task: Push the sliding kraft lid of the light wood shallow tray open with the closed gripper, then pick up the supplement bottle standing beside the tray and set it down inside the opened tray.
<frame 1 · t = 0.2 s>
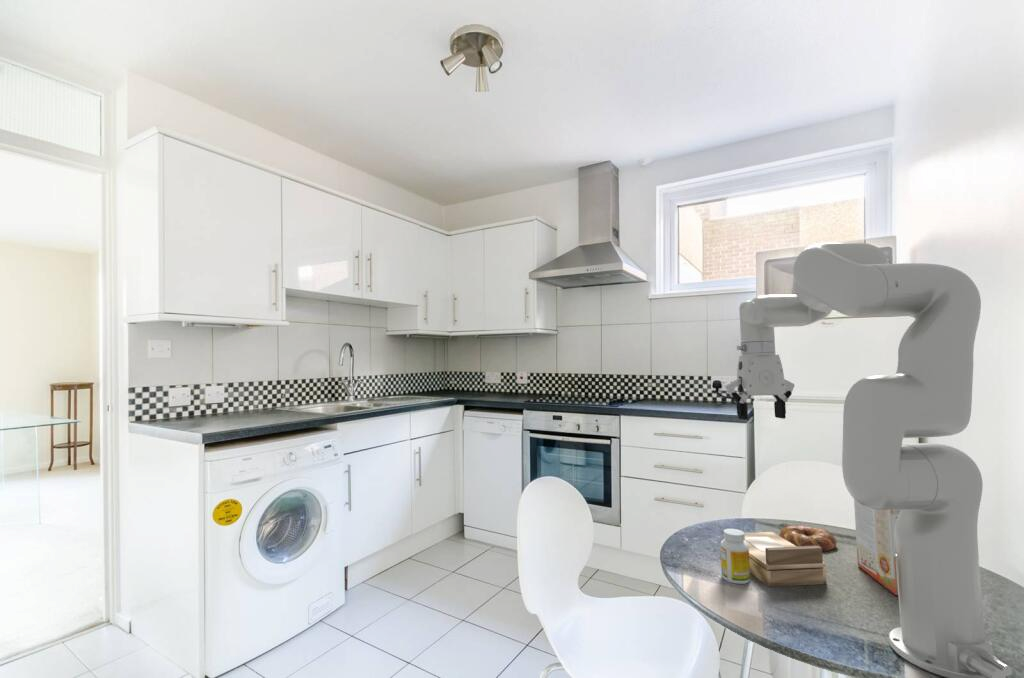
hand: (761, 418, 117), 31 cm above the table, tool pointing down, fingers open, 9 cm apart
lid: (769, 542, 104), point 5 cm above the table, slide at 0.0 cm
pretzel: (807, 545, 116), on the table
light wood shallow tray: (770, 566, 104), on the table
cracker box: (891, 582, 95), on the table
supplement bottle: (735, 579, 98), on the table
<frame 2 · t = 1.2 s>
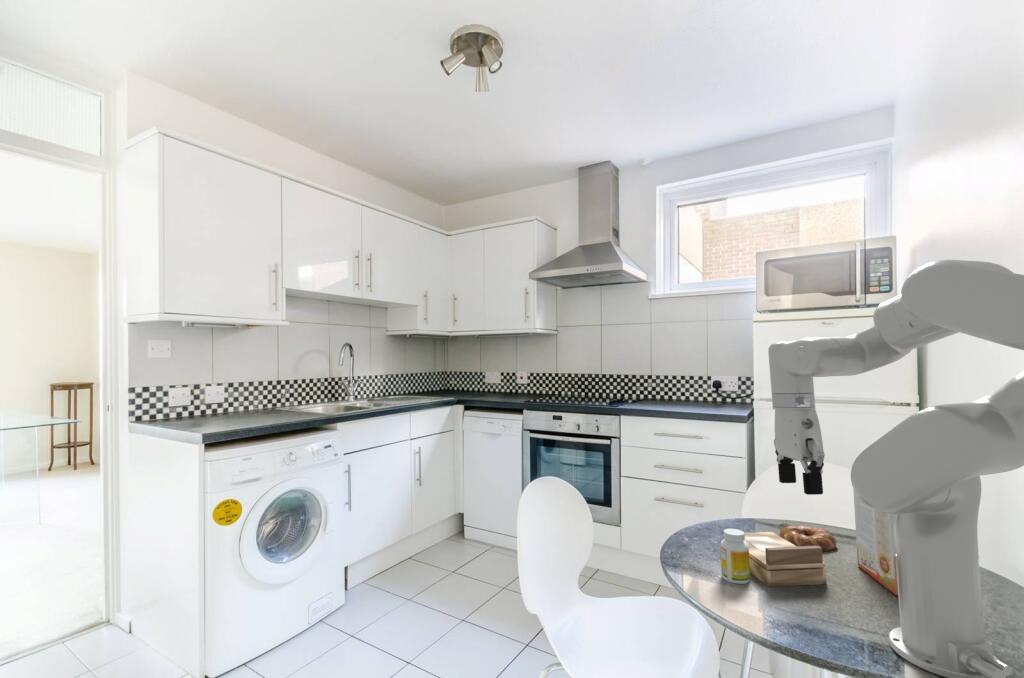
hand: (800, 488, 95), 19 cm above the table, tool pointing down, fingers open, 9 cm apart
nothing on the table moved.
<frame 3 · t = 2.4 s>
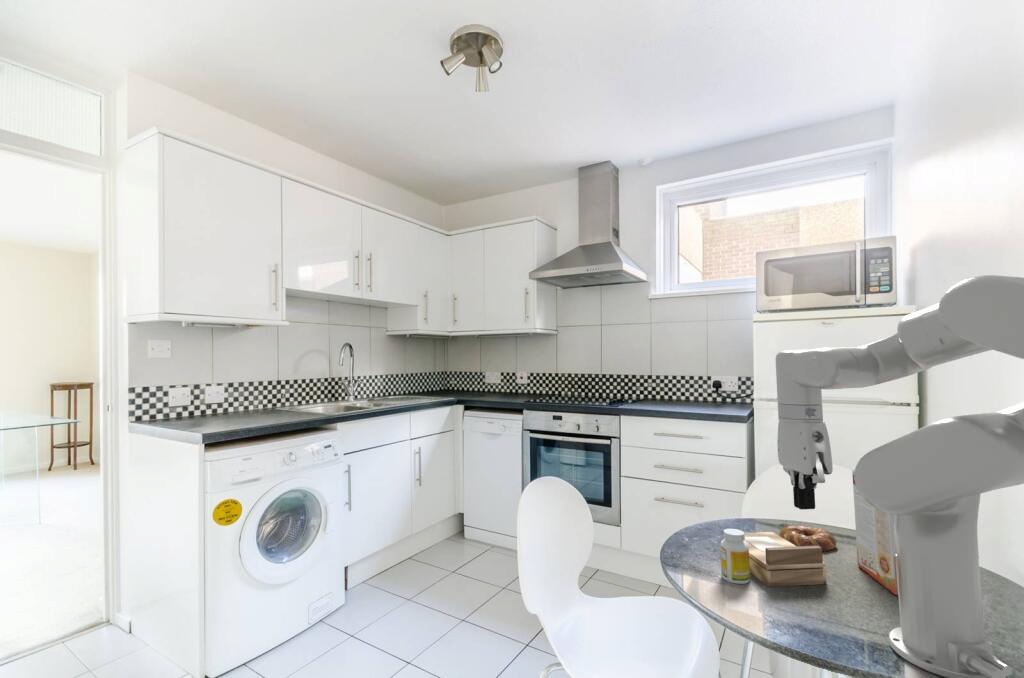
hand: (804, 507, 92), 16 cm above the table, tool pointing down, fingers closed
nothing on the table moved.
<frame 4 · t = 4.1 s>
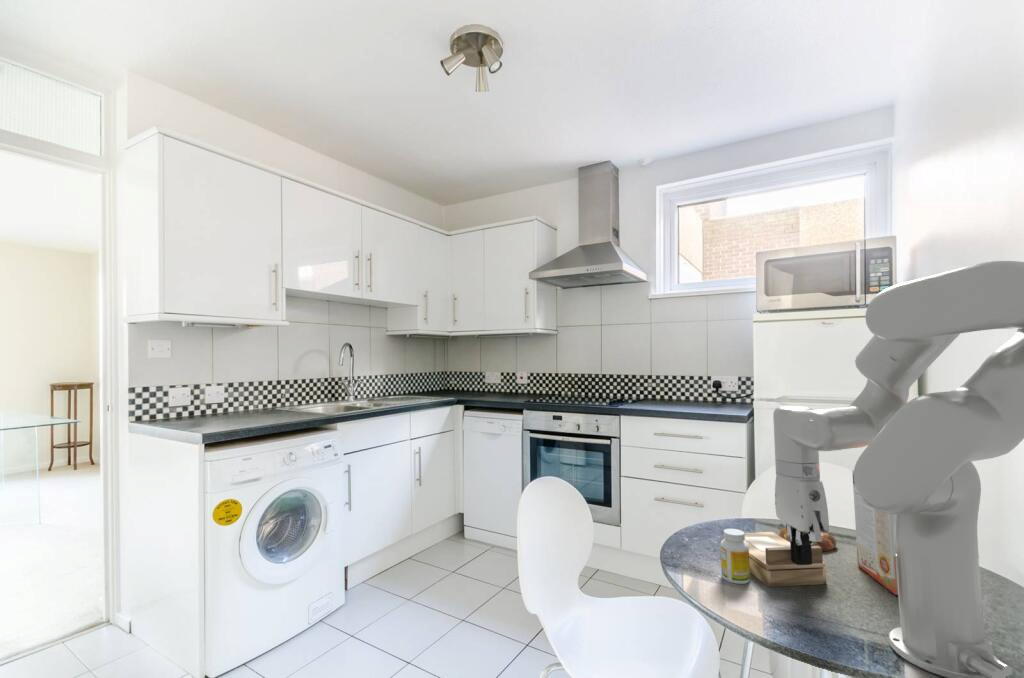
hand: (801, 563, 93), 5 cm above the table, tool pointing down, fingers closed
lid: (769, 542, 104), point 5 cm above the table, slide at 0.0 cm, touching gripper
everything else where it was.
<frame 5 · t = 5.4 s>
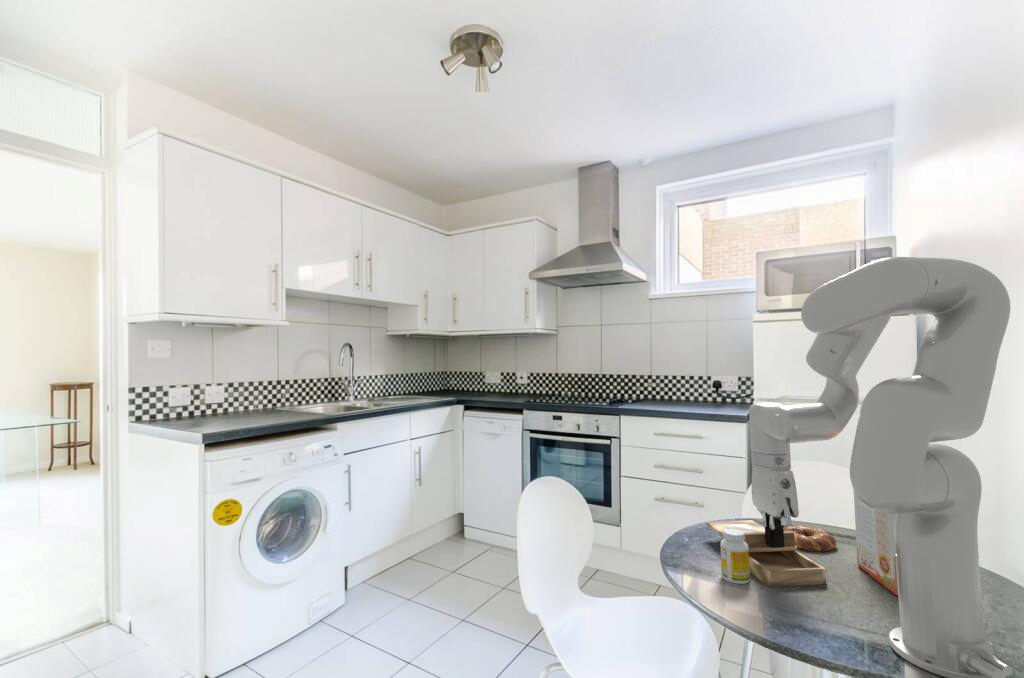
hand: (775, 546, 102), 5 cm above the table, tool pointing down, fingers closed
lid: (747, 528, 113), point 5 cm above the table, slide at 8.8 cm, touching gripper
everything else where it was.
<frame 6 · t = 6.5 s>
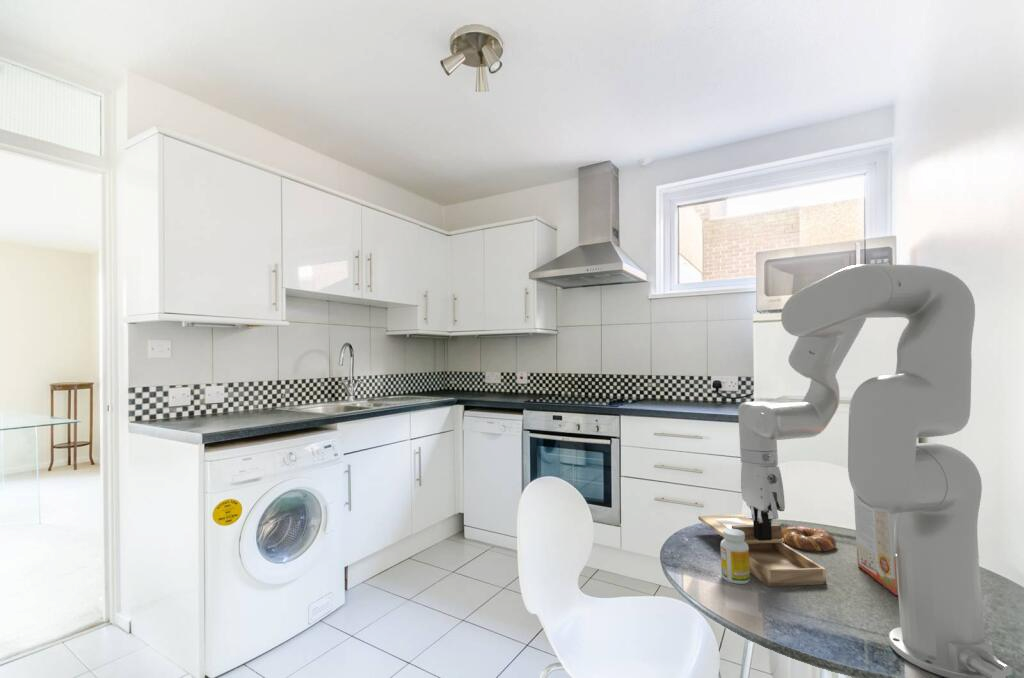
hand: (763, 539, 106), 5 cm above the table, tool pointing down, fingers closed
lid: (737, 522, 117), point 5 cm above the table, slide at 13.5 cm
everything else where it was.
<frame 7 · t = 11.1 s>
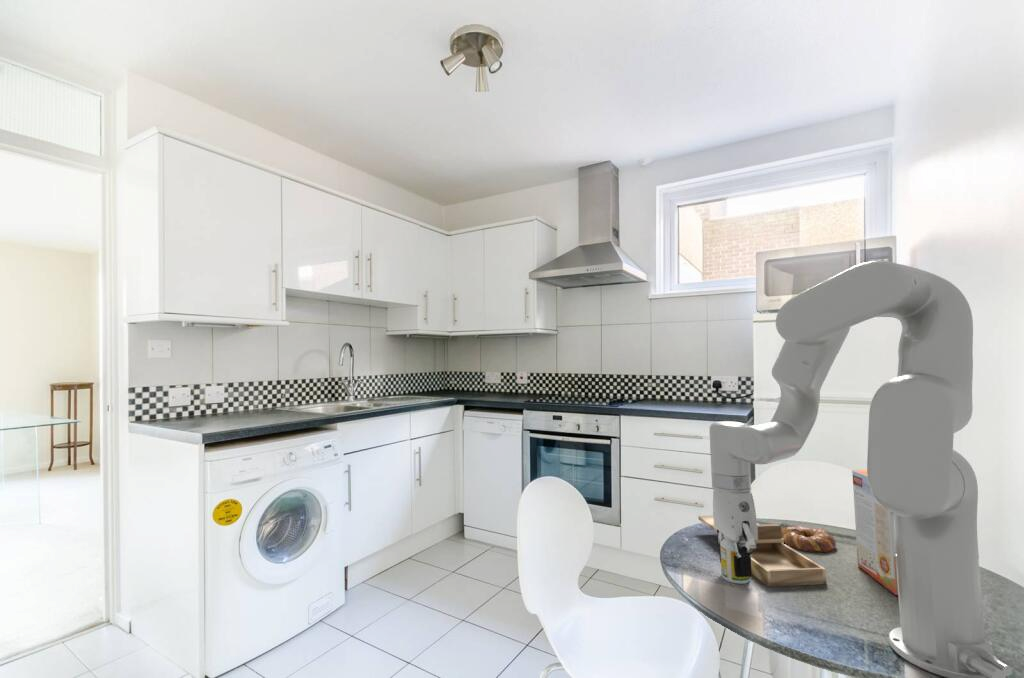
hand: (735, 568, 98), 2 cm above the table, tool pointing down, fingers closed on supplement bottle, 5 cm apart
supplement bottle: (735, 579, 98), on the table, touching gripper
everything else where it was.
when the fingers open (4 cm above the table, at t = 16.1 s): supplement bottle drops 1 cm, resting on light wood shallow tray.
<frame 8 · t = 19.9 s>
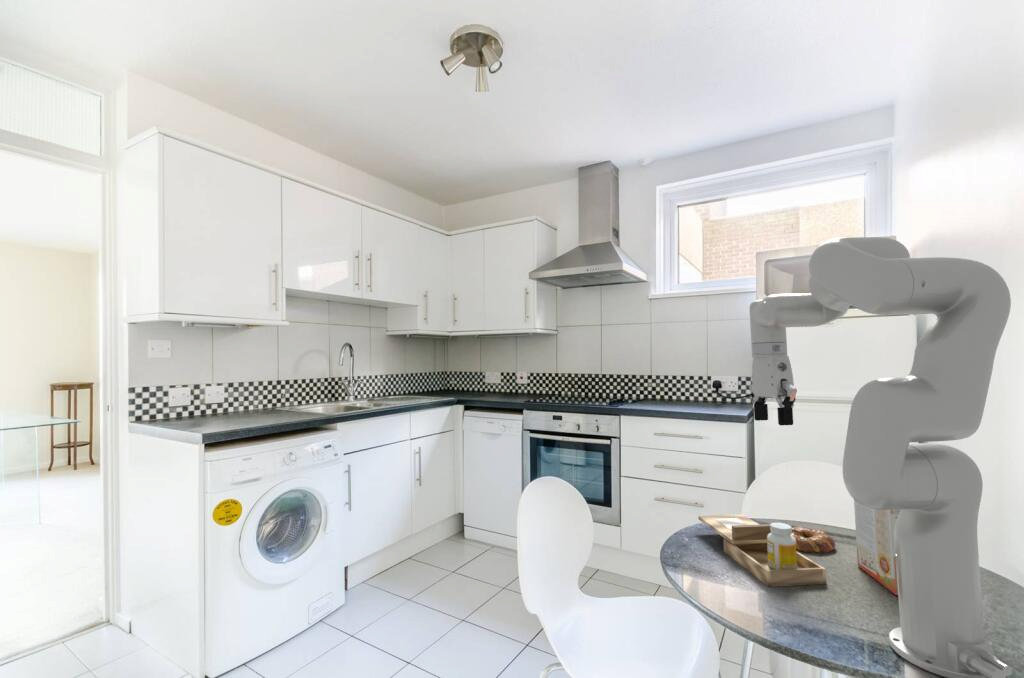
hand: (773, 422, 113), 30 cm above the table, tool pointing down, fingers open, 9 cm apart
supplement bottle: (783, 573, 99), resting on light wood shallow tray
at the end: lid slide at 13.5 cm; supplement bottle inside the target area on the light wood shallow tray (1.8 cm from its centre), point 0.4 cm above the light wood shallow tray's base; supplement bottle tilted 0° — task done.
